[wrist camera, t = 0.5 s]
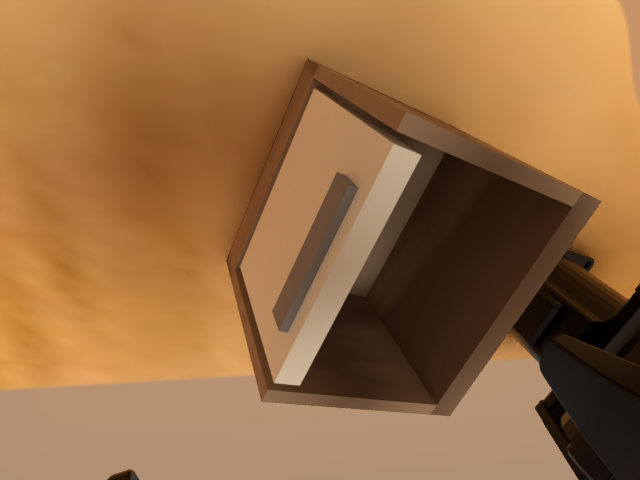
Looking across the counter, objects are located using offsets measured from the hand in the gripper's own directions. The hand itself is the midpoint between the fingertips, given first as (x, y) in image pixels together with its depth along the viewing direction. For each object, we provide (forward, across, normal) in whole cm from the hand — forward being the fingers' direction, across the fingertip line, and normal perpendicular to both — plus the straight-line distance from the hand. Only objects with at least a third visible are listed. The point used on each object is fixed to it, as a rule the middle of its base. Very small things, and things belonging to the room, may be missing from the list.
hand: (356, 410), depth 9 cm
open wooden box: (+13, -4, +1) cm, 13 cm away
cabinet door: (+11, 0, -1) cm, 11 cm away
